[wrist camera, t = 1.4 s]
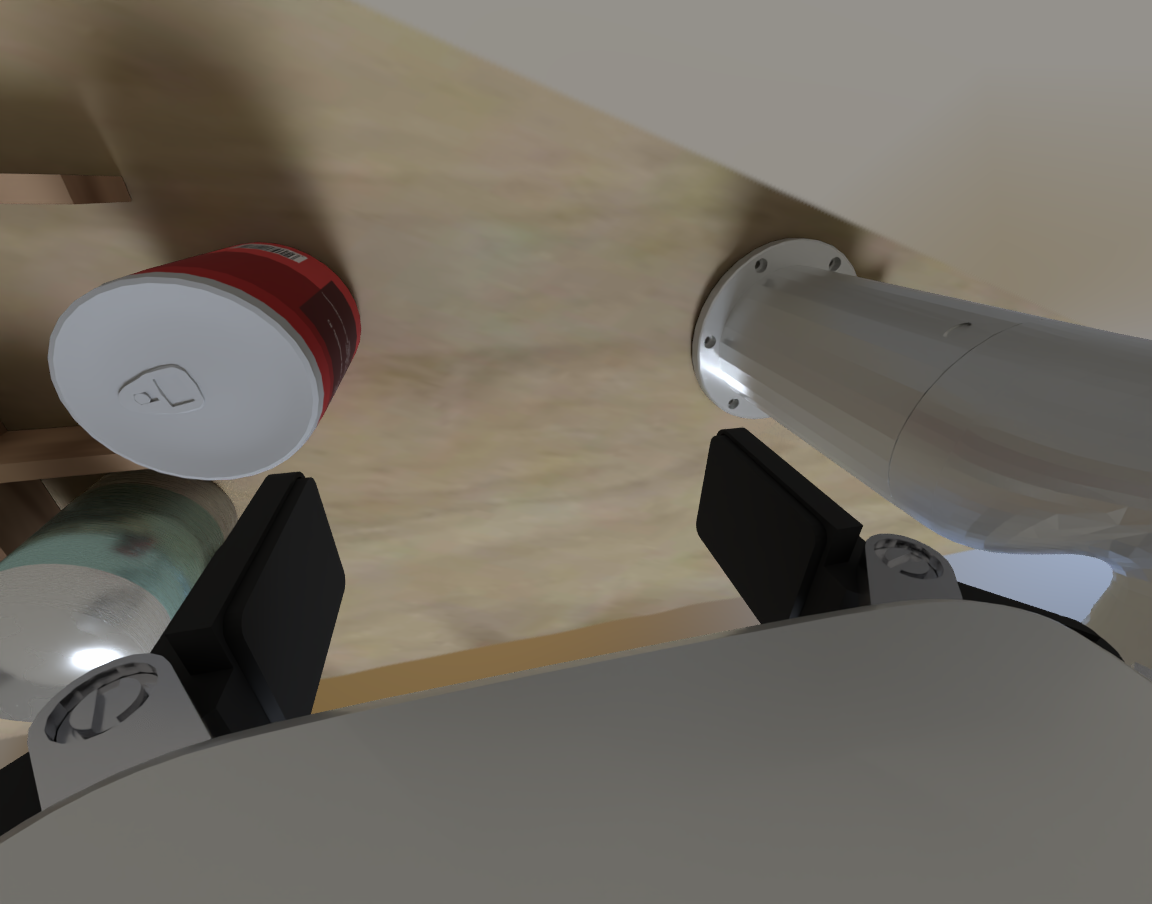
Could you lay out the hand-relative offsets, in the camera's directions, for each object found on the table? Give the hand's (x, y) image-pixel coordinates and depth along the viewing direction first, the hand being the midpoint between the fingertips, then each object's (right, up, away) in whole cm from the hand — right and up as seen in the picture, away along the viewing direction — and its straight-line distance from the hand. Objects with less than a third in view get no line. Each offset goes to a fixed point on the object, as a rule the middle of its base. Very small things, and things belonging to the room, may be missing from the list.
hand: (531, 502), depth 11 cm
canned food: (-15, +9, +15) cm, 23 cm away
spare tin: (-25, -3, +18) cm, 31 cm away
